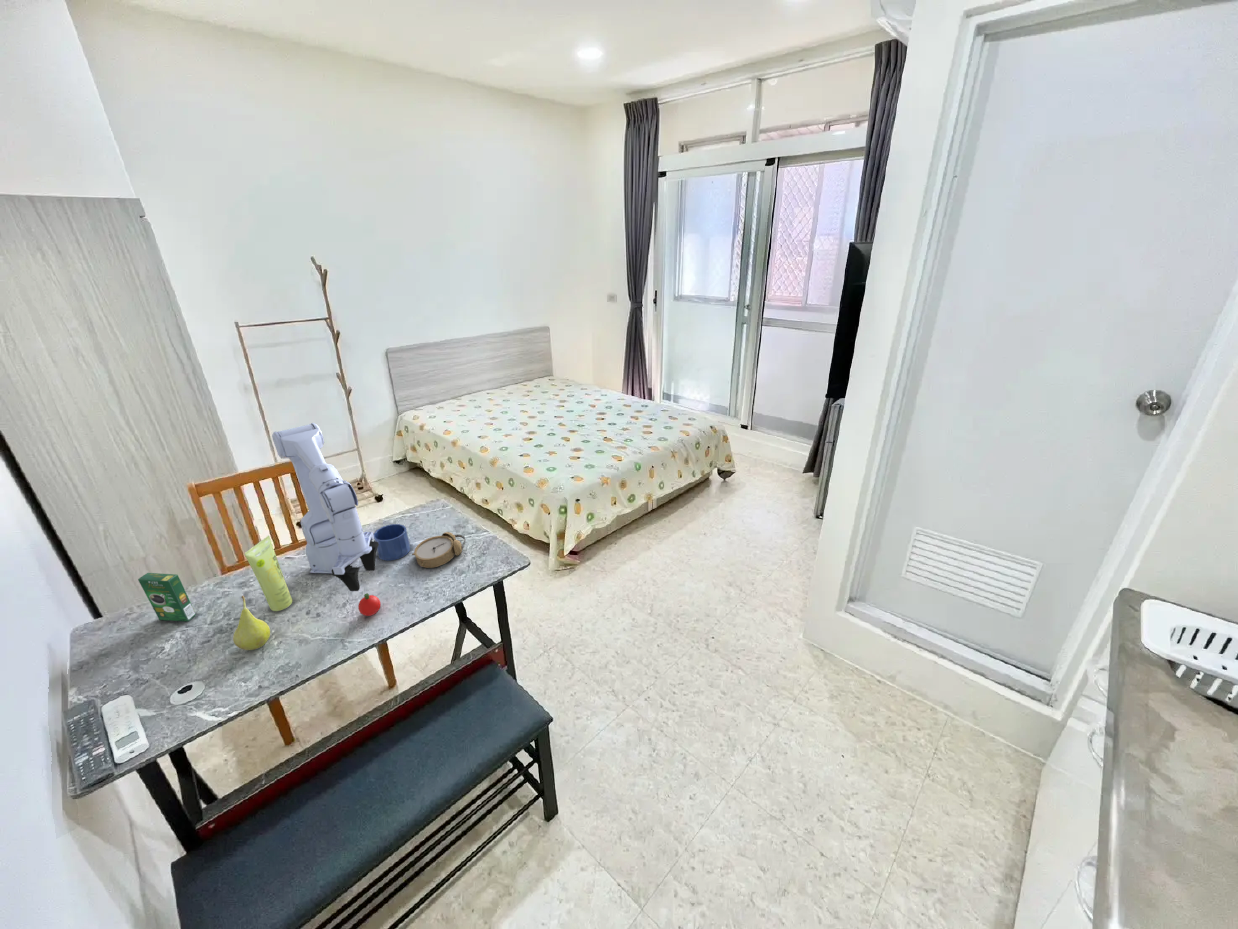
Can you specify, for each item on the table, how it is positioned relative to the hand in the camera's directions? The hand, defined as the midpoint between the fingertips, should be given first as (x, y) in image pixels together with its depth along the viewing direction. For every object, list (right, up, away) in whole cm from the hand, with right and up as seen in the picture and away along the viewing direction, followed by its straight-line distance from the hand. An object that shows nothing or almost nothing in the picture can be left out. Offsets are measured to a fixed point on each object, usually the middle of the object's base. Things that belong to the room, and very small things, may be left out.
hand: (362, 579), depth 119 cm
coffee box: (-48, -11, +3) cm, 49 cm away
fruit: (-23, -14, -5) cm, 27 cm away
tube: (-25, -9, +7) cm, 27 cm away
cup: (-5, +2, +28) cm, 29 cm away
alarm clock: (+10, +1, +27) cm, 28 cm away
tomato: (0, -10, +5) cm, 11 cm away
